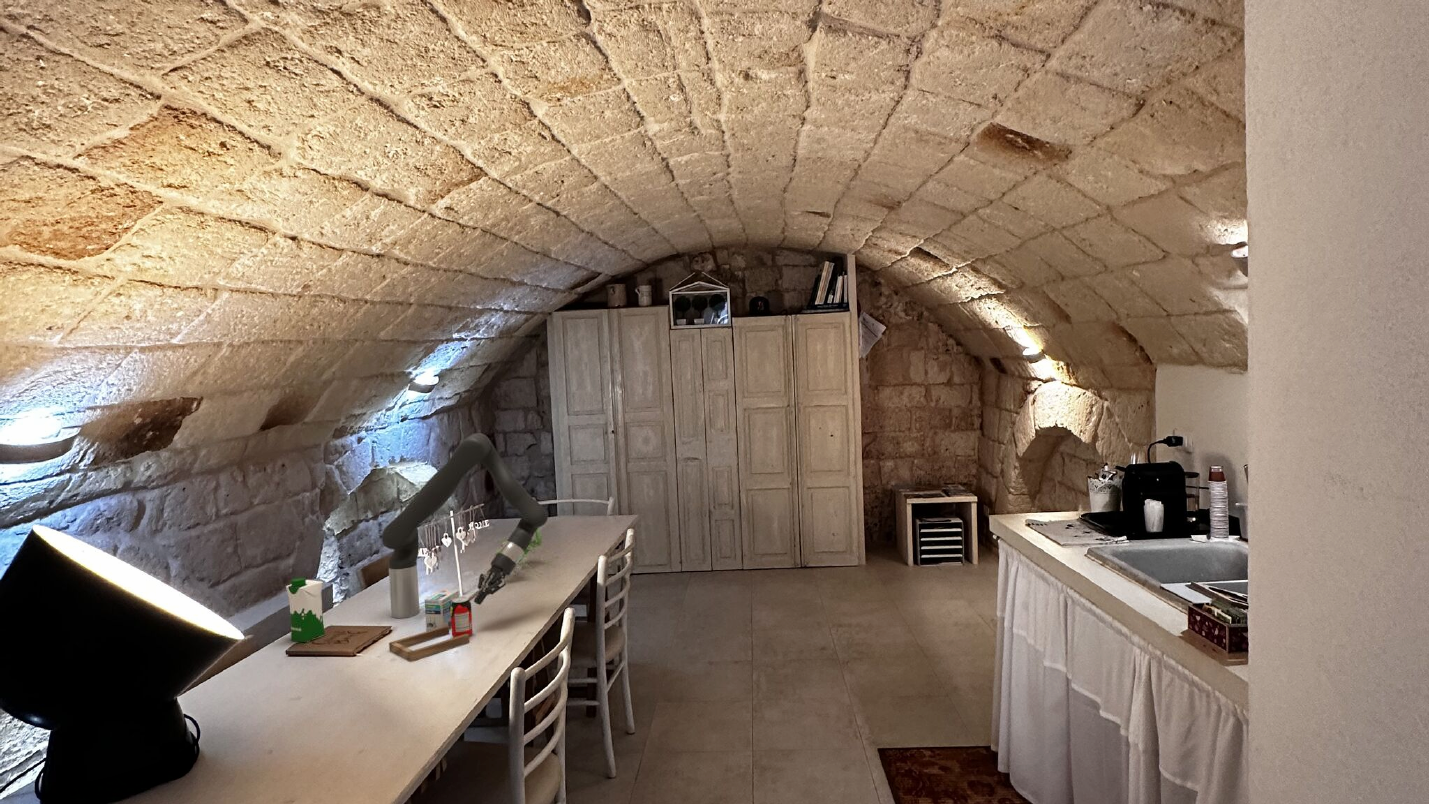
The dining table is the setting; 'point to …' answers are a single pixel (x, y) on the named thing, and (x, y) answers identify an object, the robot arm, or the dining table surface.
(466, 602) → the beverage can
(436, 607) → the light bulb box
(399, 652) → the frame
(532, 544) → the plant cuttings
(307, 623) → the milk carton
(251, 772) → the dining table surface
